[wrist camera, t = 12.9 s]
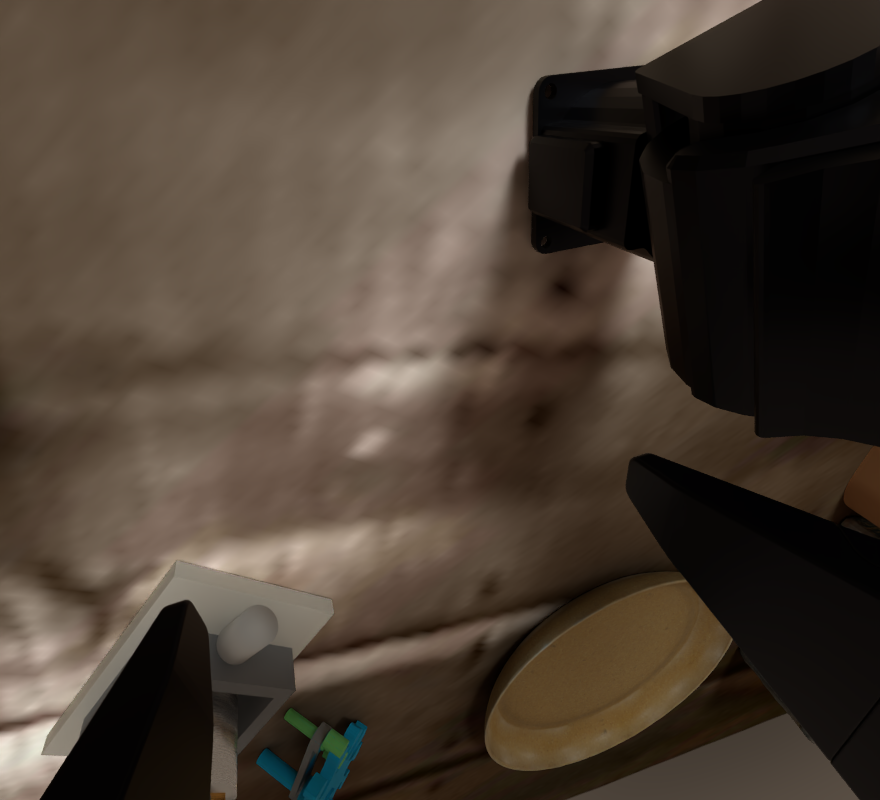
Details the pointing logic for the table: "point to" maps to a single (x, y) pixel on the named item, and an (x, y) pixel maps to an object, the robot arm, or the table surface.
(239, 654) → the shaft mount
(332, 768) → the blue and green toy
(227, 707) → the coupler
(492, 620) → the table surface
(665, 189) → the robot arm
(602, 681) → the plant saucer
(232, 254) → the table surface
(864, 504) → the bracket
